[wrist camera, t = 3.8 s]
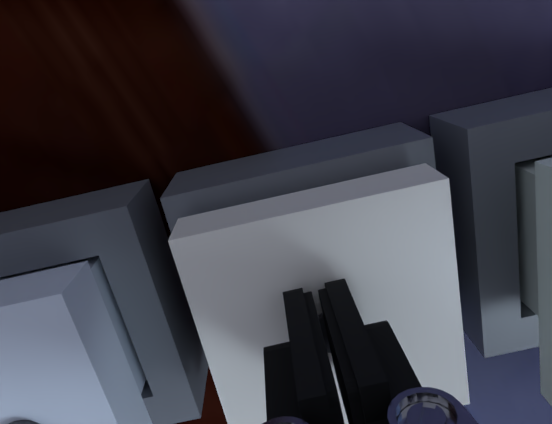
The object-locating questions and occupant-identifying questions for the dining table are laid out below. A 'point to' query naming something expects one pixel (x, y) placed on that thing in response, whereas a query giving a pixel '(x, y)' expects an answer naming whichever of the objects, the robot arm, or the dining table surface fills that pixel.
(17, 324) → the tile two
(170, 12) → the dining table surface
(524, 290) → the tile three
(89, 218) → the block
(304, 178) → the housing middle
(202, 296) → the tile one
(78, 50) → the dining table surface
